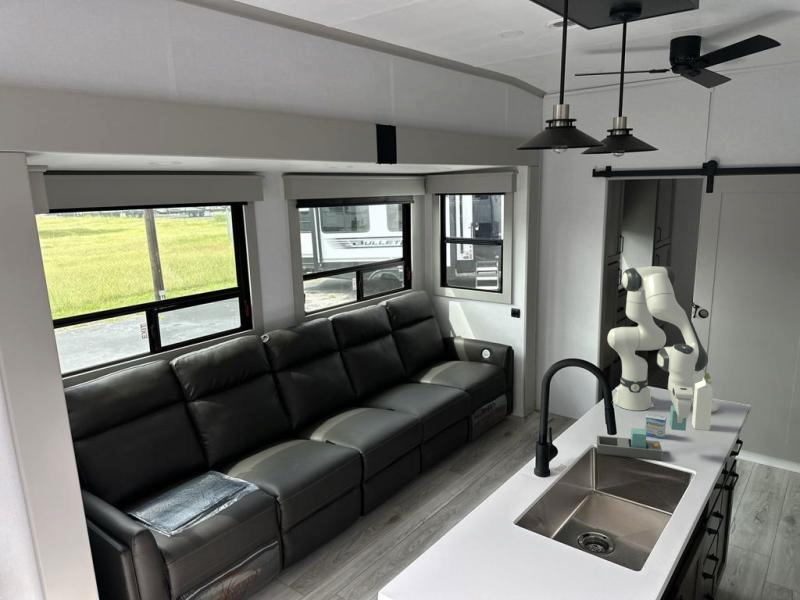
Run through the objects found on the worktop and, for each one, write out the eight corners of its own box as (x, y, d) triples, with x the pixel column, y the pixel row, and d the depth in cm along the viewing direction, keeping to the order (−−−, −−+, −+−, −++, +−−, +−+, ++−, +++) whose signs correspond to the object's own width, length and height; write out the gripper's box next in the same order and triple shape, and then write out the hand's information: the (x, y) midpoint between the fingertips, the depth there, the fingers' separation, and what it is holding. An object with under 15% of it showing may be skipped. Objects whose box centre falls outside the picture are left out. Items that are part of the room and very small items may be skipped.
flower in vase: (700, 402, 270) (703, 353, 265) (723, 410, 261) (728, 359, 256) (684, 409, 264) (687, 358, 258) (707, 417, 254) (712, 365, 249)
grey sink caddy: (596, 444, 233) (597, 423, 231) (658, 450, 226) (660, 428, 224) (597, 454, 225) (598, 432, 223) (661, 460, 218) (663, 438, 216)
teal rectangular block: (669, 424, 224) (670, 405, 223) (683, 425, 223) (684, 406, 221) (671, 429, 220) (672, 410, 218) (685, 430, 218) (687, 411, 216)
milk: (694, 429, 243) (697, 381, 239) (691, 423, 249) (695, 376, 244) (710, 430, 242) (713, 382, 237) (707, 424, 247) (710, 377, 242)
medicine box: (644, 436, 239) (645, 417, 237) (645, 431, 243) (646, 413, 241) (664, 439, 235) (665, 420, 234) (665, 435, 239) (666, 416, 237)
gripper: (667, 375, 228) (665, 407, 231) (675, 395, 209) (673, 429, 212) (684, 376, 226) (682, 408, 229) (694, 396, 207) (691, 430, 210)
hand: (678, 418), depth 220 cm, fingers closed on teal rectangular block, 5 cm apart
